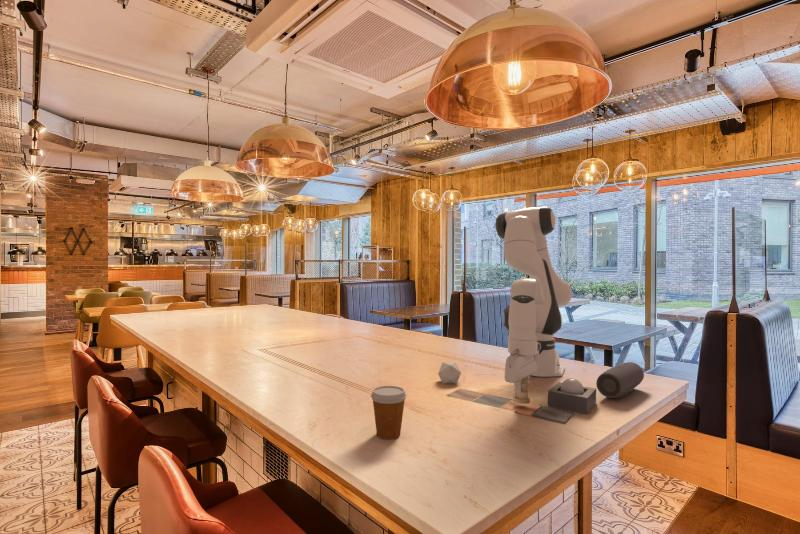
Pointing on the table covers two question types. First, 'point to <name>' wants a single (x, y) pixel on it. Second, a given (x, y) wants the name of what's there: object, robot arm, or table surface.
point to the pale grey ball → (572, 386)
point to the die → (449, 373)
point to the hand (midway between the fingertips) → (521, 390)
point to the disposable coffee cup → (388, 410)
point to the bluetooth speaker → (620, 379)
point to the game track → (515, 405)
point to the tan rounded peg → (522, 393)
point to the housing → (572, 399)
